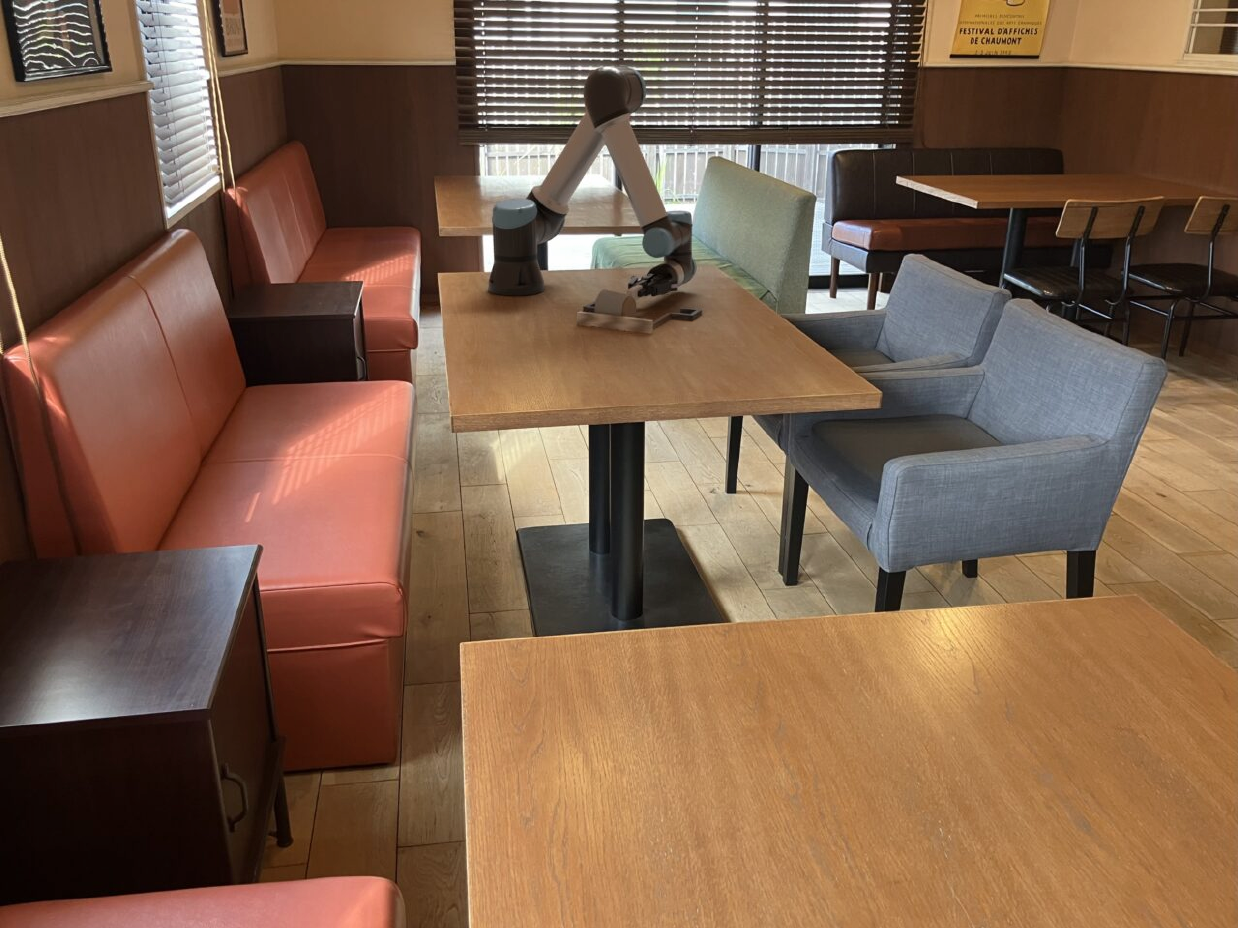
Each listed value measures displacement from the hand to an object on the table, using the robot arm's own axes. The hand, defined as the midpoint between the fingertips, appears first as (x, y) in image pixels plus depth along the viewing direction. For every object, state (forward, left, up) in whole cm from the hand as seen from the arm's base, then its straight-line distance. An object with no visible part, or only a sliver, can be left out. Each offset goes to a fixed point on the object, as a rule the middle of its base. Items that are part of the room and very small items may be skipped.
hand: (629, 296), depth 248 cm
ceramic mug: (-2, -2, -6) cm, 7 cm away
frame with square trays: (0, +2, -6) cm, 6 cm away
